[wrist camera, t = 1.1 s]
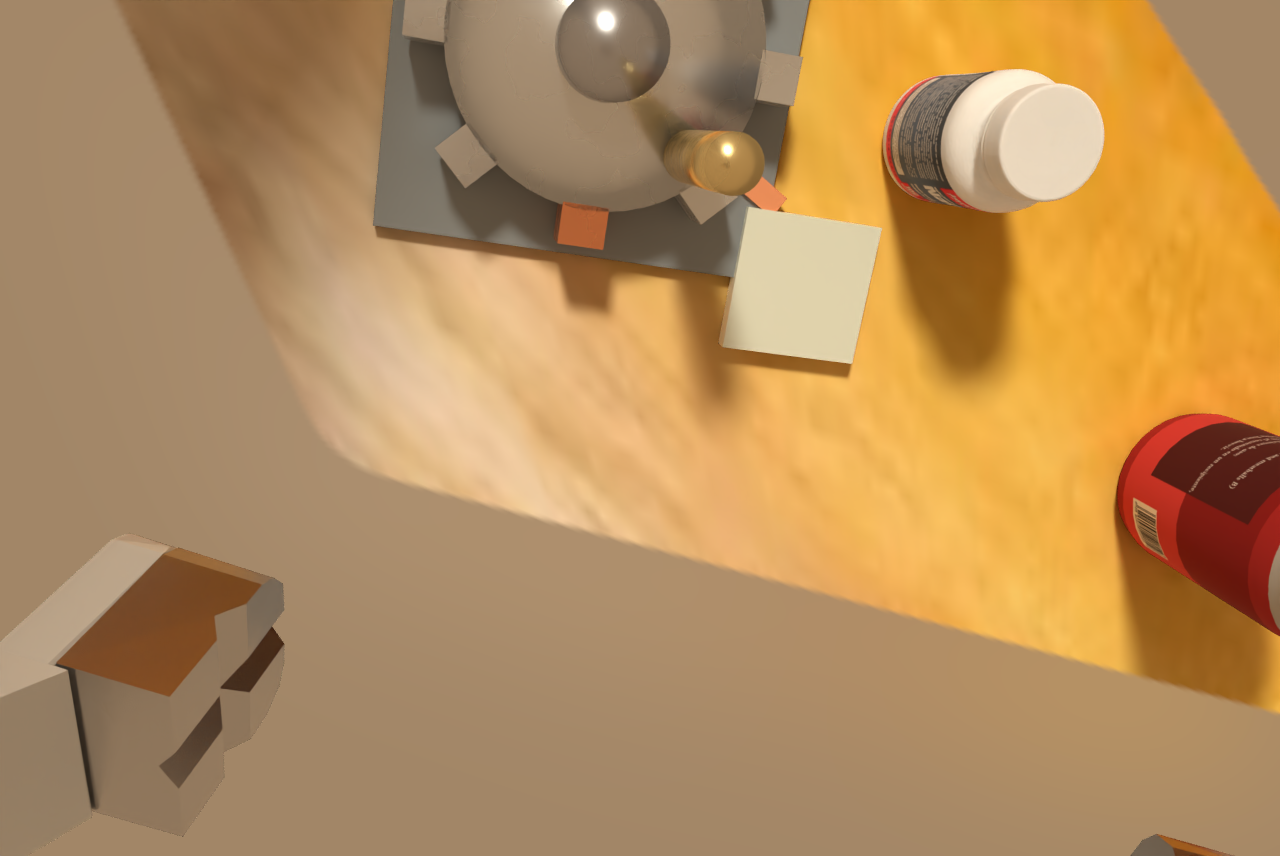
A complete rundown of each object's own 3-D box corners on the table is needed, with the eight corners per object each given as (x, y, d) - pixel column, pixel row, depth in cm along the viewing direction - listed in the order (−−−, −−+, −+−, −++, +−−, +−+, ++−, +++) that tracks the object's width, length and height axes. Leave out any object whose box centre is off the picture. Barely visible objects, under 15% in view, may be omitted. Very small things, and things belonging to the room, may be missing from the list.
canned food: (1196, 577, 52) (1378, 690, 42) (1081, 517, 50) (1242, 621, 40) (1283, 449, 51) (1492, 533, 40) (1167, 382, 49) (1358, 453, 38)
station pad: (743, 205, 43) (748, 207, 42) (874, 226, 44) (881, 228, 43) (718, 343, 44) (722, 347, 44) (845, 360, 46) (852, 363, 45)
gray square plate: (414, -222, 36) (413, -228, 36) (843, -122, 40) (850, -127, 39) (374, 224, 41) (372, 225, 40) (765, 280, 44) (770, 283, 43)
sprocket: (428, -208, 36) (416, -311, 27) (820, -118, 39) (920, -185, 30) (389, 213, 40) (367, 238, 31) (748, 266, 43) (818, 302, 34)
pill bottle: (875, 202, 44) (971, 221, 35) (884, 74, 42) (987, 62, 34) (989, 201, 45) (1110, 219, 36) (1002, 76, 43) (1131, 65, 35)
